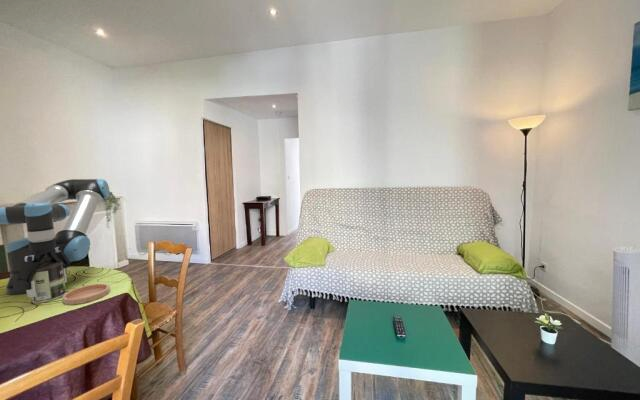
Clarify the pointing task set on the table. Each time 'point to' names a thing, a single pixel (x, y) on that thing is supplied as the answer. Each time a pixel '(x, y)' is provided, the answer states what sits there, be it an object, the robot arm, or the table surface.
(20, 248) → the robot arm
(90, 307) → the table surface
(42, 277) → the coffee can
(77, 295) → the saucer
